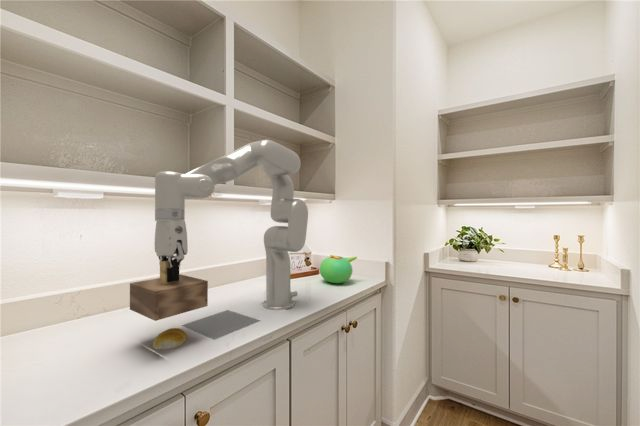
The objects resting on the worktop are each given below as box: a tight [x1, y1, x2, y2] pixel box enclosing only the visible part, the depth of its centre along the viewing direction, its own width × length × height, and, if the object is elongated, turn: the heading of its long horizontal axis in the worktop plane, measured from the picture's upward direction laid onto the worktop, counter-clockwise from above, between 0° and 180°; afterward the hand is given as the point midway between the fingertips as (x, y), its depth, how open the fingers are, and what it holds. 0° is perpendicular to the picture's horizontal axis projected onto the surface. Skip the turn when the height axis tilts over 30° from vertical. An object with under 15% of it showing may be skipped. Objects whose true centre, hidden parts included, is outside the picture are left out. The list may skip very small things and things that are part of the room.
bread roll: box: [152, 327, 188, 350], centre depth 84 cm, size 8×9×4 cm
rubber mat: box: [181, 309, 262, 340], centre depth 97 cm, size 18×18×1 cm
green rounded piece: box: [319, 254, 358, 284], centre depth 154 cm, size 18×17×15 cm
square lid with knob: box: [129, 259, 209, 322], centre depth 83 cm, size 15×15×13 cm
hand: (169, 279), depth 83 cm, fingers closed on square lid with knob, 3 cm apart
